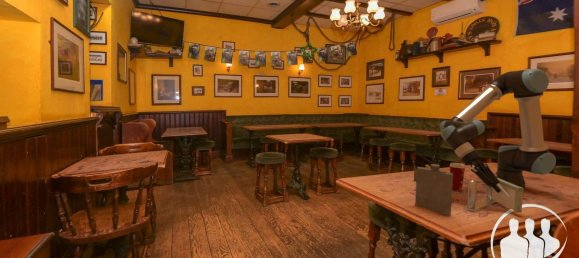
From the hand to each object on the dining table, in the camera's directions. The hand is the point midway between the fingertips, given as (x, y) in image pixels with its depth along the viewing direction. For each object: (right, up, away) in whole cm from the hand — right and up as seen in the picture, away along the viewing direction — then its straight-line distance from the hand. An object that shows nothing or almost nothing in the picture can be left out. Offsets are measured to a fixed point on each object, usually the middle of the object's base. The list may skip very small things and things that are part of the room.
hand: (506, 198), depth 127 cm
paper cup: (-3, -3, +33) cm, 34 cm away
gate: (+3, -4, +4) cm, 6 cm away
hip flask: (-31, -6, +2) cm, 31 cm away
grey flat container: (-13, -2, +51) cm, 53 cm away
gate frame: (-5, -5, +9) cm, 12 cm away
